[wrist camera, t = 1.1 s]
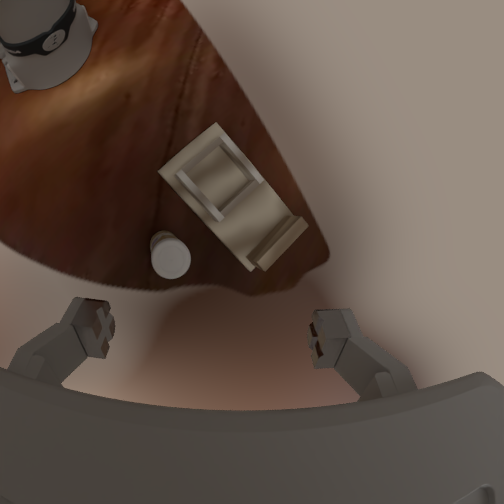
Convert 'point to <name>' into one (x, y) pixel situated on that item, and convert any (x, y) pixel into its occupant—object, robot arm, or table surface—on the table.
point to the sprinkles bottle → (169, 255)
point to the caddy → (233, 199)
